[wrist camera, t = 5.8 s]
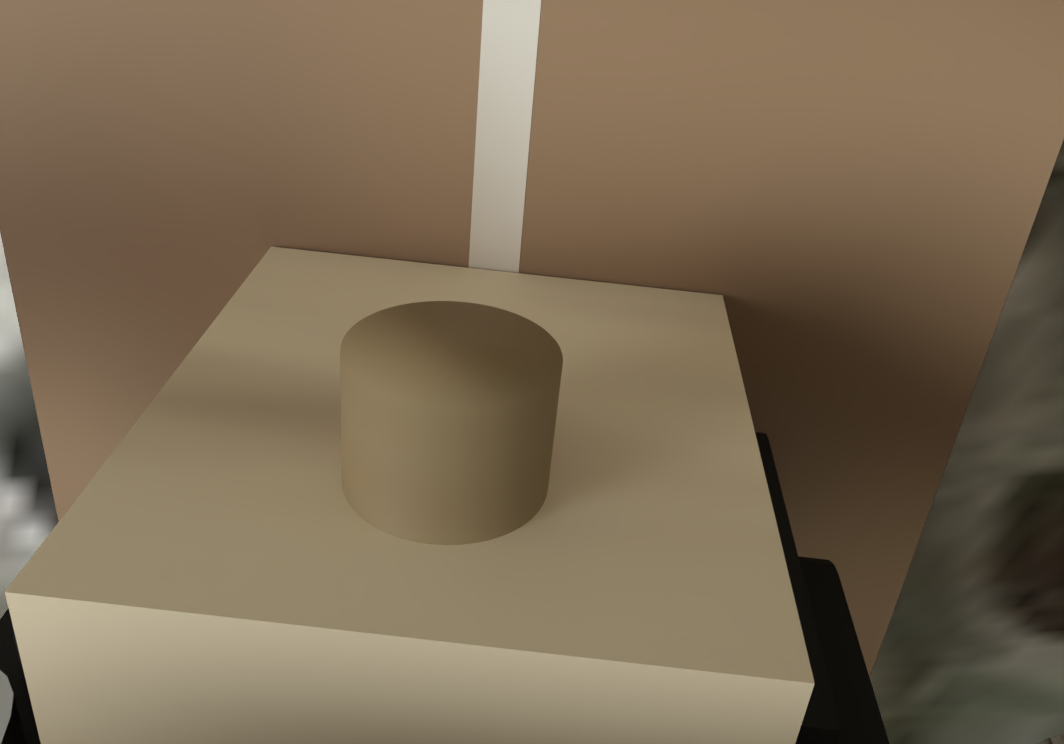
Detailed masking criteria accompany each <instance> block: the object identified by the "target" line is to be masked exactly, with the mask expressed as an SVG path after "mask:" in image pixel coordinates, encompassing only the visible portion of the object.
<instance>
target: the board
mask: <svg viewBox="0 0 1064 744" xmlns="http://www.w3.org/2000/svg"><path fill="white" fill-rule="evenodd" d="M1063 140H1064V0H0V232H1V237H2V242H3V247H4V252H5V257H6V262H7V267H8V272H9V277H10V282H11V287H12V292H13V297H14V302H15V307H16V312H17V317H18V322H19V327H20V332H21V337H22V342H23V347H24V352H25V357H26V362H27V367H28V372H29V377H30V382H31V387H32V392H33V397H34V402H35V406H36V411H37V416H38V421H39V426H40V431H41V436H42V441H43V446H44V451H45V456H46V461H47V466H48V471H49V476H50V481H51V486H52V491H53V496H54V501H55V506H56V511H57V516H58V521H60V520H61V518H62V517H63V516H64V515H65V513H66V512H67V511H68V509H69V508H70V507H71V505H72V504H73V503H74V502H75V500H76V499H77V498H78V496H79V495H80V494H81V493H82V491H83V490H84V489H85V487H86V486H87V485H88V483H89V482H90V481H91V480H92V478H93V477H94V476H95V474H96V473H97V472H98V470H99V469H100V468H101V467H102V465H103V464H104V463H105V461H106V460H107V459H108V457H109V456H110V455H111V454H112V452H113V451H114V450H115V448H116V447H117V446H118V444H119V443H120V442H121V441H122V439H123V438H124V437H125V435H126V434H127V433H128V432H129V430H130V429H131V428H132V426H133V425H134V424H135V422H136V421H137V420H138V419H139V417H140V416H141V415H142V413H143V412H144V411H145V409H146V408H147V407H148V406H149V404H150V403H151V402H152V400H153V399H154V398H155V396H156V395H157V394H158V393H159V391H160V390H161V389H162V387H163V386H164V385H165V383H166V382H167V381H168V380H169V378H170V377H171V376H172V374H173V373H174V372H175V371H176V369H177V368H178V367H179V365H180V364H181V363H182V361H183V360H184V359H185V358H186V356H187V355H188V354H189V352H190V351H191V350H192V348H193V347H194V346H195V345H196V343H197V342H198V341H199V339H200V338H201V337H202V335H203V334H204V333H205V332H206V330H207V329H208V328H209V326H210V325H211V324H212V323H213V321H214V320H215V319H216V317H217V316H218V315H219V313H220V312H221V311H222V310H223V308H224V307H225V306H226V304H227V303H228V302H229V300H230V299H231V298H232V297H233V295H234V294H235V293H236V291H237V290H238V289H239V287H240V286H241V285H242V284H243V282H244V281H245V280H246V278H247V277H248V276H249V274H250V273H251V272H252V271H253V269H254V268H255V267H256V265H257V264H258V263H259V262H260V260H261V259H262V258H263V256H264V255H265V254H266V252H267V251H268V250H269V249H270V247H280V248H290V249H299V250H308V251H317V252H327V253H336V254H345V255H354V256H364V257H373V258H382V259H392V260H401V261H410V262H419V263H429V264H438V265H447V266H457V267H466V268H475V269H484V270H494V271H503V272H512V273H522V274H531V275H540V276H549V277H559V278H568V279H577V280H587V281H596V282H605V283H614V284H624V285H633V286H642V287H652V288H661V289H670V290H679V291H689V292H698V293H707V294H716V295H723V300H724V304H725V308H726V312H727V316H728V321H729V325H730V329H731V333H732V337H733V342H734V346H735V350H736V354H737V358H738V363H739V367H740V371H741V375H742V380H743V384H744V388H745V392H746V396H747V401H748V405H749V409H750V413H751V417H752V422H753V426H754V430H755V432H761V433H765V434H767V436H768V439H769V442H770V446H771V450H772V454H773V458H774V462H775V466H776V470H777V474H778V478H779V482H780V486H781V490H782V494H783V498H784V502H785V506H786V510H787V514H788V518H789V522H790V526H791V530H792V534H793V538H794V542H795V546H796V550H797V554H798V556H800V557H809V558H817V559H826V560H830V561H831V562H832V563H833V564H834V565H835V567H836V570H837V572H838V574H839V577H840V581H841V584H842V587H843V591H844V594H845V597H846V601H847V604H848V607H849V611H850V614H851V617H852V621H853V624H854V627H855V631H856V634H857V637H858V641H859V644H860V648H861V651H862V654H863V658H864V661H865V664H866V668H867V671H868V674H869V678H870V675H871V672H872V670H873V667H874V664H875V661H876V658H877V656H878V653H879V650H880V647H881V645H882V642H883V639H884V636H885V633H886V631H887V628H888V625H889V622H890V620H891V617H892V614H893V611H894V609H895V606H896V603H897V600H898V597H899V595H900V592H901V589H902V586H903V584H904V581H905V578H906V575H907V572H908V570H909V567H910V564H911V561H912V559H913V556H914V553H915V550H916V547H917V545H918V542H919V539H920V536H921V534H922V531H923V528H924V525H925V523H926V520H927V517H928V514H929V511H930V509H931V506H932V503H933V500H934V498H935V495H936V492H937V489H938V486H939V484H940V481H941V478H942V475H943V473H944V470H945V467H946V464H947V461H948V459H949V456H950V453H951V450H952V448H953V445H954V442H955V439H956V436H957V434H958V431H959V428H960V425H961V423H962V420H963V417H964V414H965V412H966V409H967V406H968V403H969V400H970V398H971V395H972V392H973V389H974V387H975V384H976V381H977V378H978V375H979V373H980V370H981V367H982V364H983V362H984V359H985V356H986V353H987V350H988V348H989V345H990V342H991V339H992V337H993V334H994V331H995V328H996V325H997V323H998V320H999V317H1000V314H1001V312H1002V309H1003V306H1004V303H1005V301H1006V298H1007V295H1008V292H1009V289H1010V287H1011V284H1012V281H1013V278H1014V276H1015V273H1016V270H1017V267H1018V264H1019V262H1020V259H1021V256H1022V253H1023V251H1024V248H1025V245H1026V242H1027V239H1028V237H1029V234H1030V231H1031V228H1032V226H1033V223H1034V220H1035V217H1036V215H1037V212H1038V209H1039V206H1040V203H1041V201H1042V198H1043V195H1044V192H1045V190H1046V187H1047V184H1048V181H1049V178H1050V176H1051V173H1052V170H1053V167H1054V165H1055V162H1056V159H1057V156H1058V153H1059V151H1060V148H1061V145H1062V142H1063Z"/></svg>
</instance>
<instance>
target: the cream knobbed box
mask: <svg viewBox="0 0 1064 744" xmlns="http://www.w3.org/2000/svg"><path fill="white" fill-rule="evenodd" d="M5 595H6V599H7V603H8V608H9V612H10V616H11V620H12V624H13V629H14V633H15V637H16V641H17V646H18V650H19V654H20V658H21V662H22V667H23V671H24V675H25V679H26V683H27V688H28V692H29V696H30V700H31V705H32V709H33V713H34V717H35V721H36V726H37V730H38V734H39V738H40V742H41V744H795V743H796V740H797V737H798V734H799V731H800V727H801V724H802V721H803V718H804V715H805V712H806V709H807V706H808V703H809V700H810V697H811V694H812V691H813V687H814V684H815V683H814V678H813V674H812V670H811V666H810V662H809V657H808V653H807V649H806V645H805V641H804V636H803V632H802V628H801V624H800V620H799V615H798V611H797V607H796V603H795V598H794V594H793V590H792V586H791V582H790V577H789V573H788V569H787V565H786V561H785V556H784V552H783V548H782V544H781V539H780V535H779V531H778V527H777V523H776V518H775V514H774V510H773V506H772V502H771V497H770V493H769V489H768V485H767V481H766V476H765V472H764V468H763V464H762V459H761V455H760V451H759V447H758V443H757V438H756V434H755V430H754V426H753V422H752V417H751V413H750V409H749V405H748V401H747V396H746V392H745V388H744V384H743V380H742V375H741V371H740V367H739V363H738V358H737V354H736V350H735V346H734V342H733V337H732V333H731V329H730V325H729V321H728V316H727V312H726V308H725V304H724V300H723V295H716V294H707V293H698V292H689V291H679V290H670V289H661V288H652V287H642V286H633V285H624V284H614V283H605V282H596V281H587V280H577V279H568V278H559V277H549V276H540V275H531V274H522V273H512V272H503V271H494V270H484V269H475V268H466V267H457V266H447V265H438V264H429V263H419V262H410V261H401V260H392V259H382V258H373V257H364V256H354V255H345V254H336V253H327V252H317V251H308V250H299V249H290V248H280V247H270V249H269V250H268V251H267V252H266V254H265V255H264V256H263V258H262V259H261V260H260V262H259V263H258V264H257V265H256V267H255V268H254V269H253V271H252V272H251V273H250V274H249V276H248V277H247V278H246V280H245V281H244V282H243V284H242V285H241V286H240V287H239V289H238V290H237V291H236V293H235V294H234V295H233V297H232V298H231V299H230V300H229V302H228V303H227V304H226V306H225V307H224V308H223V310H222V311H221V312H220V313H219V315H218V316H217V317H216V319H215V320H214V321H213V323H212V324H211V325H210V326H209V328H208V329H207V330H206V332H205V333H204V334H203V335H202V337H201V338H200V339H199V341H198V342H197V343H196V345H195V346H194V347H193V348H192V350H191V351H190V352H189V354H188V355H187V356H186V358H185V359H184V360H183V361H182V363H181V364H180V365H179V367H178V368H177V369H176V371H175V372H174V373H173V374H172V376H171V377H170V378H169V380H168V381H167V382H166V383H165V385H164V386H163V387H162V389H161V390H160V391H159V393H158V394H157V395H156V396H155V398H154V399H153V400H152V402H151V403H150V404H149V406H148V407H147V408H146V409H145V411H144V412H143V413H142V415H141V416H140V417H139V419H138V420H137V421H136V422H135V424H134V425H133V426H132V428H131V429H130V430H129V432H128V433H127V434H126V435H125V437H124V438H123V439H122V441H121V442H120V443H119V444H118V446H117V447H116V448H115V450H114V451H113V452H112V454H111V455H110V456H109V457H108V459H107V460H106V461H105V463H104V464H103V465H102V467H101V468H100V469H99V470H98V472H97V473H96V474H95V476H94V477H93V478H92V480H91V481H90V482H89V483H88V485H87V486H86V487H85V489H84V490H83V491H82V493H81V494H80V495H79V496H78V498H77V499H76V500H75V502H74V503H73V504H72V505H71V507H70V508H69V509H68V511H67V512H66V513H65V515H64V516H63V517H62V518H61V520H60V521H59V522H58V524H57V525H56V526H55V528H54V529H53V530H52V531H51V533H50V534H49V535H48V537H47V538H46V539H45V541H44V542H43V543H42V544H41V546H40V547H39V548H38V550H37V551H36V552H35V554H34V555H33V556H32V557H31V559H30V560H29V561H28V563H27V564H26V565H25V566H24V568H23V569H22V570H21V572H20V573H19V574H18V576H17V577H16V578H15V579H14V581H13V582H12V583H11V585H10V586H9V587H8V589H7V590H6V591H5Z"/></svg>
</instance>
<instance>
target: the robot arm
mask: <svg viewBox="0 0 1064 744" xmlns="http://www.w3.org/2000/svg"><path fill="white" fill-rule="evenodd" d="M755 434H756V438H757V443H758V447H759V451H760V455H761V459H762V464H763V468H764V472H765V476H766V481H767V485H768V489H769V493H770V497H771V502H772V506H773V510H774V514H775V518H776V523H777V527H778V531H779V535H780V539H781V544H782V548H783V552H784V556H785V561H786V565H787V569H788V573H789V577H790V582H791V586H792V590H793V594H794V598H795V603H796V607H797V611H798V615H799V620H800V624H801V628H802V632H803V636H804V641H805V645H806V649H807V653H808V657H809V662H810V666H811V670H812V674H813V678H814V683H815V684H814V687H813V691H812V694H811V697H810V700H809V703H808V706H807V709H806V712H805V715H804V718H803V721H802V724H801V727H800V731H799V734H798V737H797V740H796V743H795V744H889V741H888V738H887V735H886V731H885V728H884V725H883V721H882V718H881V714H880V711H879V708H878V704H877V701H876V698H875V694H874V691H873V688H872V684H871V681H870V678H869V674H868V671H867V668H866V664H865V661H864V658H863V654H862V651H861V648H860V644H859V641H858V637H857V634H856V631H855V627H854V624H853V621H852V617H851V614H850V611H849V607H848V604H847V601H846V597H845V594H844V591H843V587H842V584H841V581H840V577H839V574H838V572H837V570H836V567H835V565H834V564H833V563H832V562H831V561H830V560H826V559H817V558H809V557H800V556H798V554H797V550H796V546H795V542H794V538H793V534H792V530H791V526H790V522H789V518H788V514H787V510H786V506H785V502H784V498H783V494H782V490H781V486H780V482H779V478H778V474H777V470H776V466H775V462H774V458H773V454H772V450H771V446H770V442H769V439H768V436H767V434H765V433H761V432H755ZM0 744H41V742H40V738H39V734H38V730H37V726H36V721H35V717H34V713H33V709H32V705H31V700H30V696H29V692H28V688H27V683H26V679H25V675H24V671H23V667H22V662H21V658H20V654H19V650H18V646H17V641H16V637H15V633H14V629H13V624H12V620H11V616H10V612H9V608H8V610H7V611H6V612H5V614H4V615H3V616H2V618H1V619H0Z"/></svg>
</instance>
